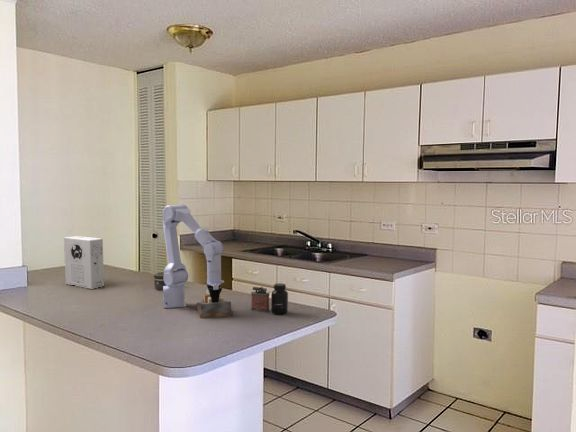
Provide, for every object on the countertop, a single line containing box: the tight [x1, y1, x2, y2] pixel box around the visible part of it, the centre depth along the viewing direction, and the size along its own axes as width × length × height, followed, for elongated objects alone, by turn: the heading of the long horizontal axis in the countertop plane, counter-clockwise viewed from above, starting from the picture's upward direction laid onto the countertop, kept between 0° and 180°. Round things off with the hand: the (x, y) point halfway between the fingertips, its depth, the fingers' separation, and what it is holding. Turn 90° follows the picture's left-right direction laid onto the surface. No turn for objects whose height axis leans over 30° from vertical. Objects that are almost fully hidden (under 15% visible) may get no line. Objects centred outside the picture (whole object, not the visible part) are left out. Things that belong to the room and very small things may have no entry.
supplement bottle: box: [270, 282, 289, 316], centre depth 202 cm, size 7×7×12 cm
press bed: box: [196, 295, 233, 319], centre depth 211 cm, size 13×30×6 cm, turn 14°
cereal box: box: [63, 235, 105, 290], centre depth 253 cm, size 22×8×25 cm, turn 58°
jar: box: [153, 271, 166, 291], centre depth 247 cm, size 10×10×8 cm
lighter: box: [250, 286, 270, 313], centre depth 206 cm, size 8×3×10 cm, turn 71°
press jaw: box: [204, 288, 210, 303], centre depth 218 cm, size 6×12×3 cm, turn 14°
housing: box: [208, 295, 224, 303], centre depth 203 cm, size 6×4×6 cm, turn 104°
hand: (214, 303), depth 203 cm, fingers closed on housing, 4 cm apart
